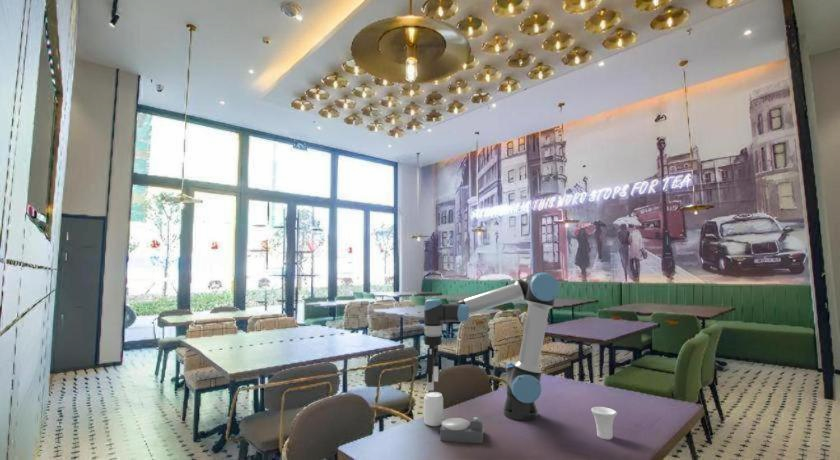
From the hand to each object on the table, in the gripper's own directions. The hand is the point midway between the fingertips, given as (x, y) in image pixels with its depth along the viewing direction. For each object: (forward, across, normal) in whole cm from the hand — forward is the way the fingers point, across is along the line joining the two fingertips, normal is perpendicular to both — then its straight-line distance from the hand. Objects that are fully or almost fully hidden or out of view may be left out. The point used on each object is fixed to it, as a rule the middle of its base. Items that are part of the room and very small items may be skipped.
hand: (432, 385), depth 169 cm
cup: (+15, +2, +68) cm, 70 cm away
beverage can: (+16, 0, 0) cm, 16 cm away
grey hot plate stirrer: (+16, +11, +14) cm, 23 cm away
